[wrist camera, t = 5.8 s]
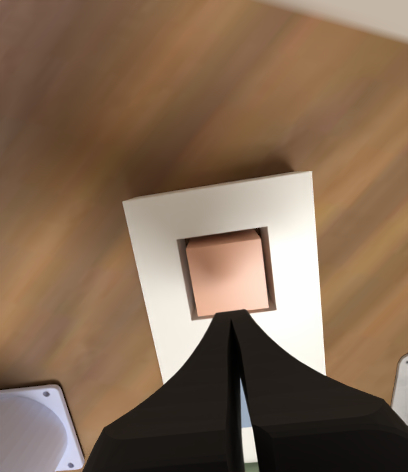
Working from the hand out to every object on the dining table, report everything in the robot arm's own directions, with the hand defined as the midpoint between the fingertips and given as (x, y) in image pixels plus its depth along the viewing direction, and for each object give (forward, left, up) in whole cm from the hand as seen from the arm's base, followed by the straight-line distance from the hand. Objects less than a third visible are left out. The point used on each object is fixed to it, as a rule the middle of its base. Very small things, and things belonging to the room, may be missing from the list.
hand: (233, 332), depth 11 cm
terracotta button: (0, +1, -7) cm, 7 cm away
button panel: (0, -7, -7) cm, 10 cm away
